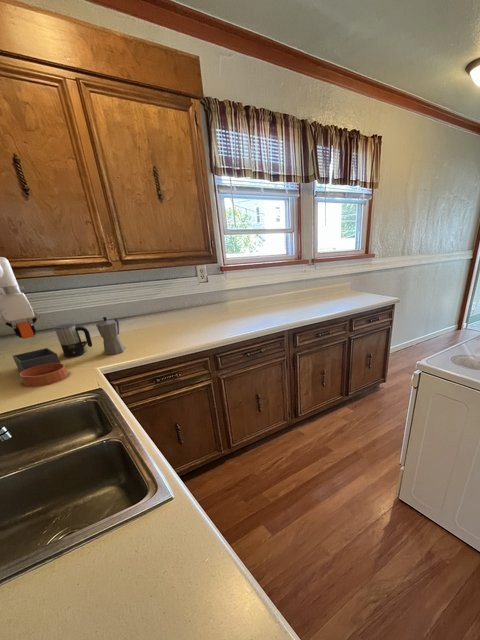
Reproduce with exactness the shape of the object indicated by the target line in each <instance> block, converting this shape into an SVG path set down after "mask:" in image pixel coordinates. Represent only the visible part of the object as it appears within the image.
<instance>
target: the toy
mask: <svg viewBox="0 0 480 640" xmlns="http://www.w3.org/2000/svg"><path fill="white" fill-rule="evenodd" d="M16 326H17V328H19V331H20V333H21V335H22V338H21V339H23V340H24V339H30V338H34V337H36V335H34V334H33V331H32V329H31V327H30V324H29V323H28V321H27V320H26V321H20V322H16Z"/></svg>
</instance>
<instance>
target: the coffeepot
mask: <svg viewBox="0 0 480 640" xmlns="http://www.w3.org/2000/svg"><path fill="white" fill-rule="evenodd" d="M107 318H108V317H106V316H103V317H102V319H103V321H100V322H97V323H96V324H95V326H96V329H97V331H98V333H99V335H100V337H101V338H102V339H103V341H102V342H103V350H104V351H103V352H104V354H105V355H108V356H113V355H118V354H123V353H124V352H125V348H124V346H123V344H122V341H121V340H120V338H119V335H120V324H119V320H118V319H117V318H112V319H110V320H108V319H107Z"/></svg>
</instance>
